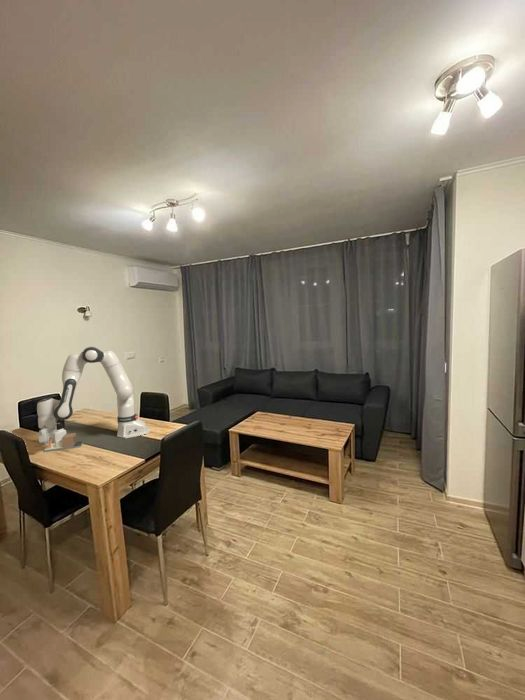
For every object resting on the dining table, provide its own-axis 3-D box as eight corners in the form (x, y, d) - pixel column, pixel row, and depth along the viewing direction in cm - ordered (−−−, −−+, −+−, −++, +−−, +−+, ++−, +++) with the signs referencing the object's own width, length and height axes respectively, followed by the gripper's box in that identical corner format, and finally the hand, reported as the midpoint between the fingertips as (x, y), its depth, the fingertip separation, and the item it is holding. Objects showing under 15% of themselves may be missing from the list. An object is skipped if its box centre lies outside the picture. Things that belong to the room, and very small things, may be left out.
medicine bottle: (67, 440, 202) (65, 423, 201) (55, 443, 196) (54, 426, 195) (62, 437, 206) (61, 421, 205) (51, 441, 200) (49, 424, 199)
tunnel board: (83, 442, 197) (82, 431, 196) (80, 447, 190) (79, 436, 189) (48, 447, 190) (47, 435, 190) (44, 452, 183) (43, 440, 182)
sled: (68, 443, 192) (68, 435, 192) (67, 445, 189) (66, 437, 188) (47, 446, 188) (46, 438, 188) (45, 448, 185) (44, 440, 184)
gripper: (46, 428, 177) (48, 449, 178) (57, 417, 196) (59, 437, 197) (34, 429, 175) (36, 451, 176) (46, 419, 194) (48, 438, 195)
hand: (48, 443), depth 187 cm, fingers closed on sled, 3 cm apart
